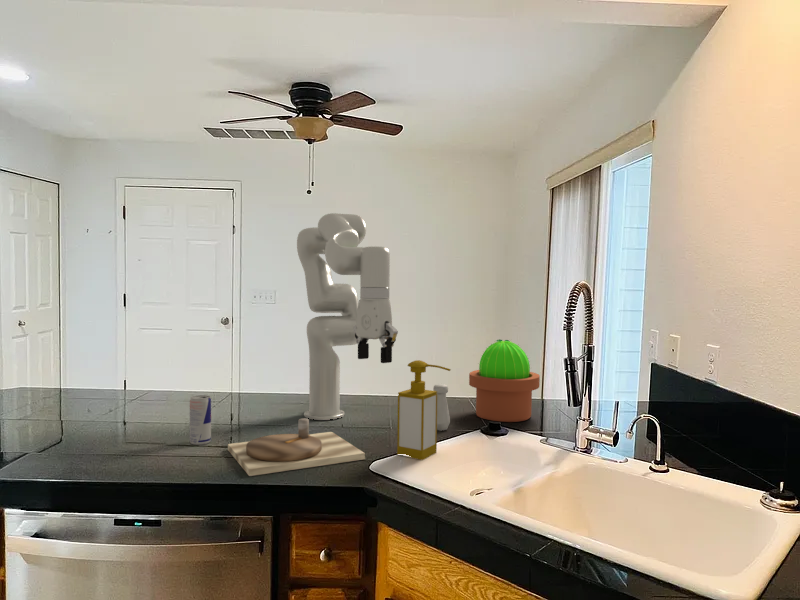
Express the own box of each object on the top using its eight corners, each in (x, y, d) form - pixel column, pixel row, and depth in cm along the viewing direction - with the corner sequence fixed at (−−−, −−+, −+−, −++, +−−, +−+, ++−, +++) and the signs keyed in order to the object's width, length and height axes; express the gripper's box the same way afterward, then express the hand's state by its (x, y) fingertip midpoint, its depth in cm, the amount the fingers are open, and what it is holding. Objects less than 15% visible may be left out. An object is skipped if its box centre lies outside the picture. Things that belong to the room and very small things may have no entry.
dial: (286, 465, 133) (286, 439, 133) (230, 452, 143) (230, 427, 142) (336, 446, 148) (336, 423, 148) (282, 435, 158) (282, 413, 158)
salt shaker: (448, 431, 171) (449, 386, 171) (428, 430, 172) (429, 385, 172) (451, 426, 177) (451, 383, 176) (431, 425, 178) (432, 382, 178)
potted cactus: (525, 428, 177) (527, 344, 176) (458, 418, 188) (459, 339, 187) (546, 413, 196) (548, 337, 195) (484, 405, 207) (485, 333, 206)
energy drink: (215, 440, 159) (215, 396, 159) (202, 446, 154) (202, 400, 154) (198, 438, 161) (198, 394, 160) (185, 443, 156) (185, 398, 155)
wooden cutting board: (227, 449, 151) (227, 441, 151) (331, 437, 164) (331, 429, 164) (249, 476, 132) (249, 466, 131) (364, 459, 145) (364, 450, 145)
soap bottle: (442, 464, 142) (443, 365, 141) (397, 455, 149) (398, 360, 148) (455, 456, 148) (457, 361, 147) (412, 448, 155) (413, 357, 154)
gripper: (343, 294, 158) (343, 358, 159) (384, 295, 145) (383, 365, 145) (366, 293, 163) (366, 356, 164) (407, 295, 150) (407, 363, 150)
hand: (374, 360), depth 155 cm, fingers open, 9 cm apart
